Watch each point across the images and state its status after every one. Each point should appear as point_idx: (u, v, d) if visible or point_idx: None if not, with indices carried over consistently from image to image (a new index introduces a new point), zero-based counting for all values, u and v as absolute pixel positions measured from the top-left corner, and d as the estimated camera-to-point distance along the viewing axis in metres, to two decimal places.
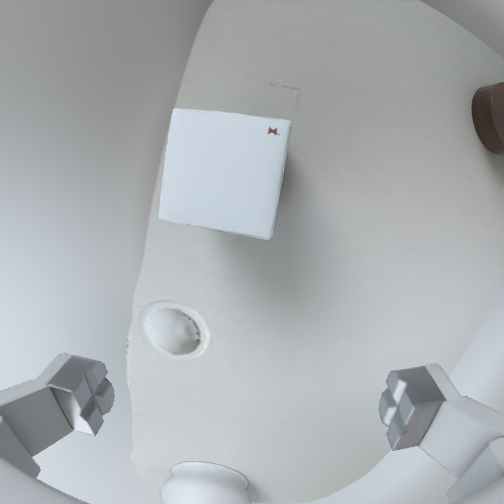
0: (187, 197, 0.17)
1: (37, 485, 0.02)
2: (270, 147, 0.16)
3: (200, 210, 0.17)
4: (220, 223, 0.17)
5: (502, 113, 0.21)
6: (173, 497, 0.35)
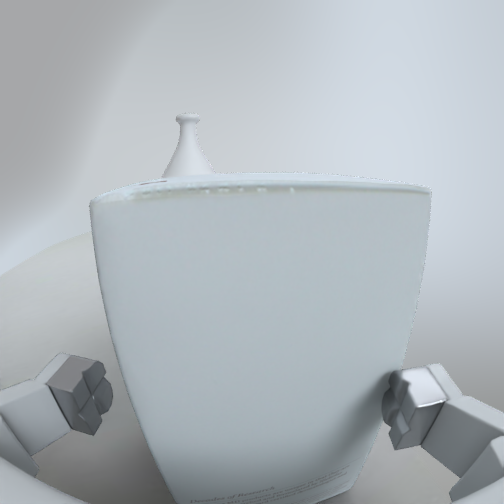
0: None
1: (37, 485, 0.02)
2: (154, 180, 0.06)
3: None
4: None
5: None
6: None
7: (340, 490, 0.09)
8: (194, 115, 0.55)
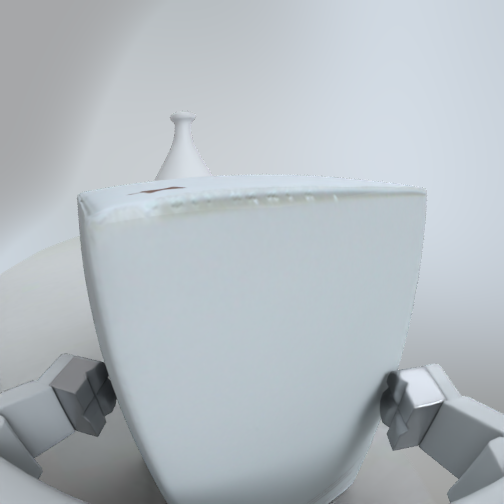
0: None
1: (37, 485, 0.02)
2: (143, 187, 0.04)
3: None
4: None
5: None
6: None
7: (344, 488, 0.09)
8: (189, 113, 0.53)
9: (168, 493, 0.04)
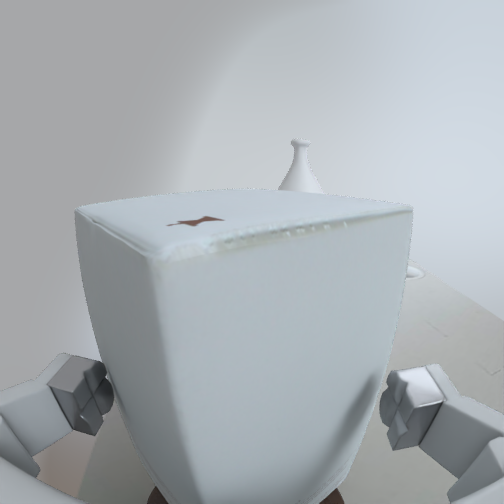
0: None
1: (37, 485, 0.02)
2: (169, 213, 0.05)
3: None
4: None
5: None
6: None
7: (339, 482, 0.10)
8: (308, 141, 0.73)
9: (200, 497, 0.04)
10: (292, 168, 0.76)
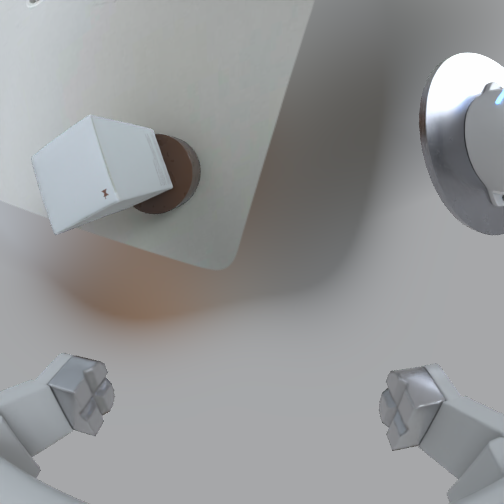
0: (46, 167, 0.18)
1: (37, 485, 0.02)
2: (95, 198, 0.19)
3: (44, 180, 0.18)
4: (45, 198, 0.19)
5: None
6: None
7: (153, 134, 0.28)
8: None
9: (144, 194, 0.23)
10: None
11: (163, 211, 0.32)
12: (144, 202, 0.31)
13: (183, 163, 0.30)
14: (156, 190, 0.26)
